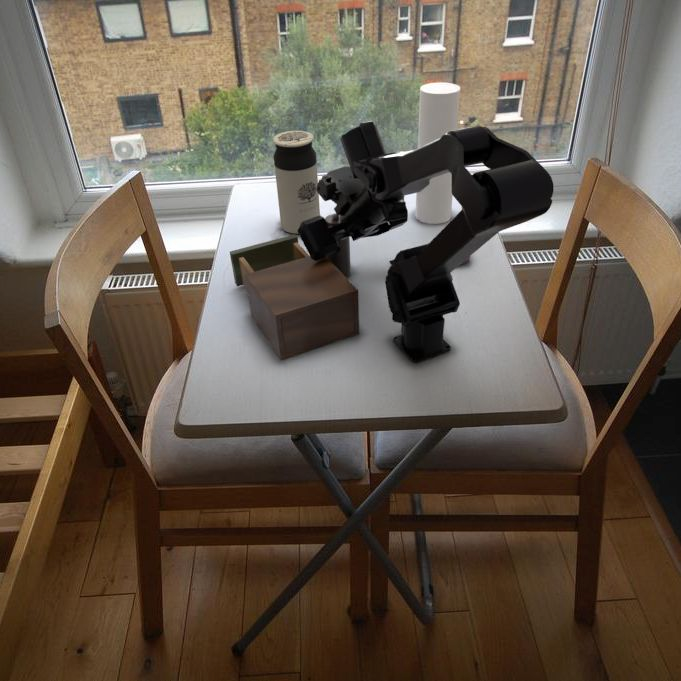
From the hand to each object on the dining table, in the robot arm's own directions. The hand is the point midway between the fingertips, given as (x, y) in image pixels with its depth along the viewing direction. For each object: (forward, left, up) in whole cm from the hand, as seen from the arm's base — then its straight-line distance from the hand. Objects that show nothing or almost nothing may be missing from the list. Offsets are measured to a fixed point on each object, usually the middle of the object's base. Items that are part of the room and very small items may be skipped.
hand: (336, 242), depth 108 cm
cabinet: (-13, +12, -5) cm, 18 cm away
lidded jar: (-1, +1, -5) cm, 6 cm away
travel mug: (+19, -1, -5) cm, 19 cm away
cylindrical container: (+9, -26, -5) cm, 28 cm away
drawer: (-2, +12, -4) cm, 13 cm away
